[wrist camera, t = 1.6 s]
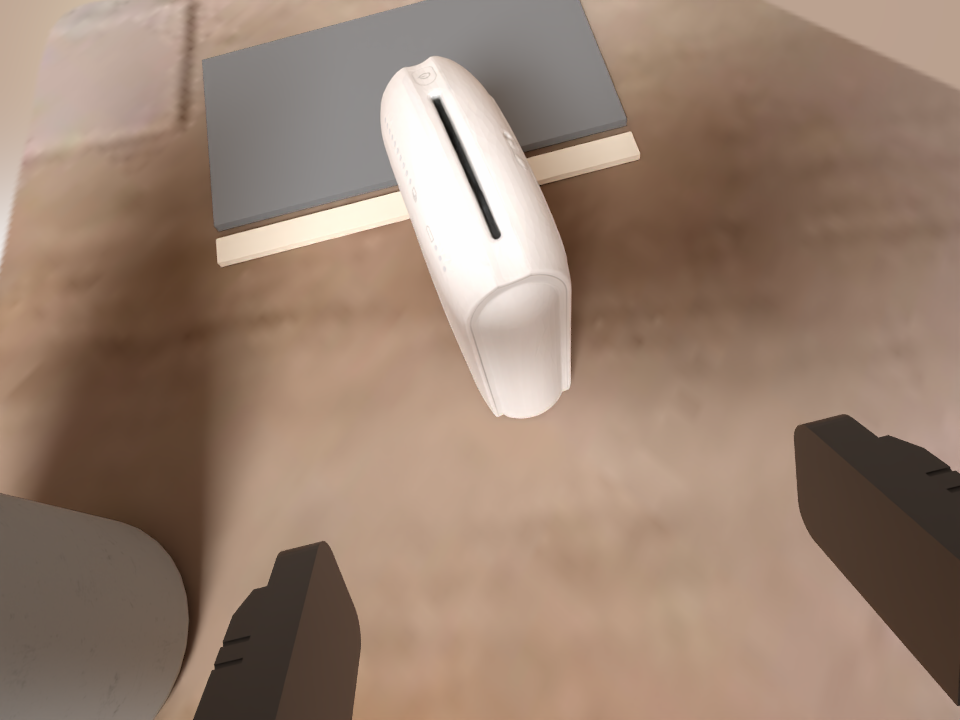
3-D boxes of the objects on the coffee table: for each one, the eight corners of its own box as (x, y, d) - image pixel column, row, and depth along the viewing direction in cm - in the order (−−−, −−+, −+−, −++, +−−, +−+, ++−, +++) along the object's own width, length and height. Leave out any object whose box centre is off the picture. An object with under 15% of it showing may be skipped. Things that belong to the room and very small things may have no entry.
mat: (564, -29, 39) (564, -37, 38) (639, 159, 33) (640, 152, 33) (206, 66, 39) (202, 59, 39) (221, 267, 34) (216, 262, 33)
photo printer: (420, 249, 33) (344, 50, 22) (500, 219, 33) (467, 5, 22) (491, 435, 29) (444, 311, 18) (583, 400, 29) (595, 254, 18)
